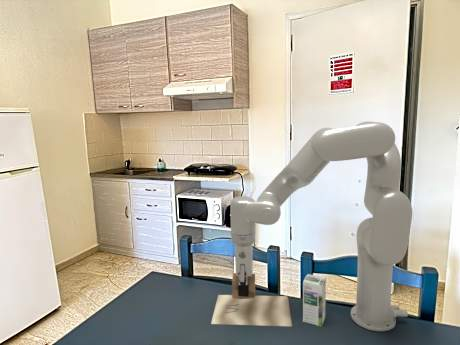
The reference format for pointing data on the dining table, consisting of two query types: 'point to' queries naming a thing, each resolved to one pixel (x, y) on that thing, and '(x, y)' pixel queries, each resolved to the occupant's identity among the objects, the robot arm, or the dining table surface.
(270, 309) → the board
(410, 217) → the robot arm
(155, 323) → the dining table surface
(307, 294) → the syrup box
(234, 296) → the block
